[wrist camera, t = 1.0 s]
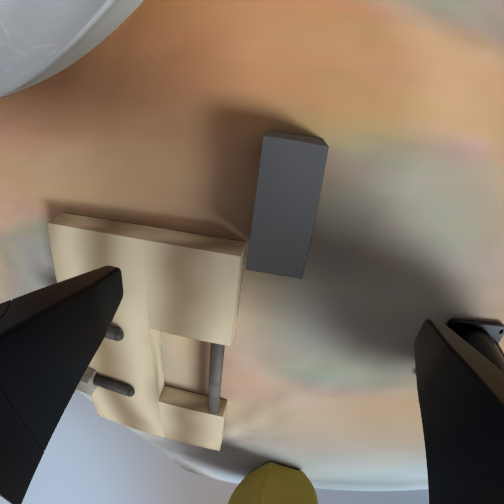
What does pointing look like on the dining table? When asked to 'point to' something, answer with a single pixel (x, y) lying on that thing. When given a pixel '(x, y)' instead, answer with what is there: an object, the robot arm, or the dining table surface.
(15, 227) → the dining table surface
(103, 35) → the serving bowl
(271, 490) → the flower pot
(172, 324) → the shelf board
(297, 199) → the dark grey chamfered block
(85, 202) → the dining table surface
